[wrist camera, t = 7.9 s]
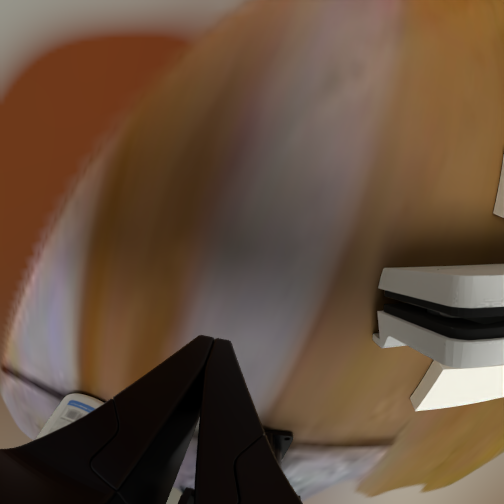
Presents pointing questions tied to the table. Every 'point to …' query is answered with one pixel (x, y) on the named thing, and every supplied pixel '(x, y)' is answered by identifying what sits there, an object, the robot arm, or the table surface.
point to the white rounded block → (445, 313)
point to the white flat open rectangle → (461, 369)
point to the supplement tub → (69, 412)
